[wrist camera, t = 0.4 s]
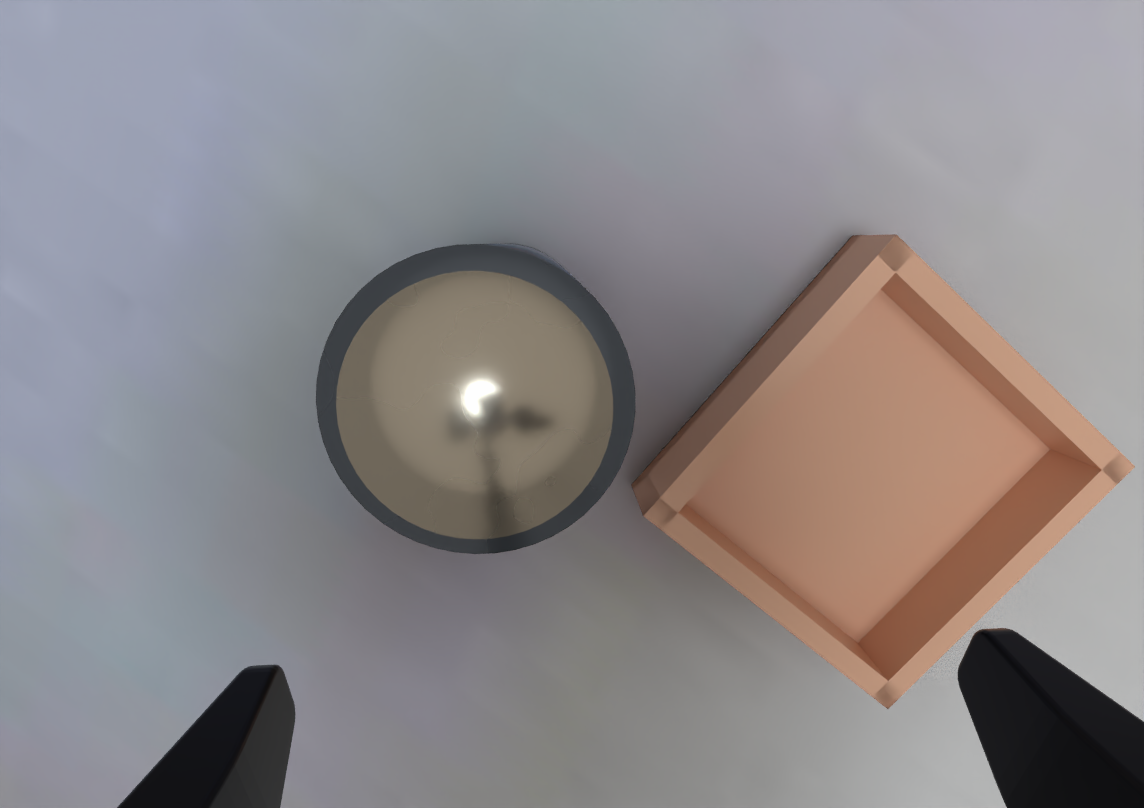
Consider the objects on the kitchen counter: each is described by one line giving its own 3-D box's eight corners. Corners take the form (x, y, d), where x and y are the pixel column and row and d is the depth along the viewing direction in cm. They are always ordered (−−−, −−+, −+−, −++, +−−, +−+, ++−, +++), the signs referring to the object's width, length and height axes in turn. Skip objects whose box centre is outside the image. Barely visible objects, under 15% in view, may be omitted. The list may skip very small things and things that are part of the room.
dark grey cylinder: (519, 423, 25) (501, 618, 12) (401, 330, 24) (244, 433, 11) (614, 311, 24) (704, 389, 11) (496, 210, 23) (447, 170, 10)
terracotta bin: (850, 660, 28) (887, 709, 25) (631, 484, 26) (643, 515, 23) (1068, 441, 26) (1135, 466, 23) (852, 235, 24) (896, 234, 21)
